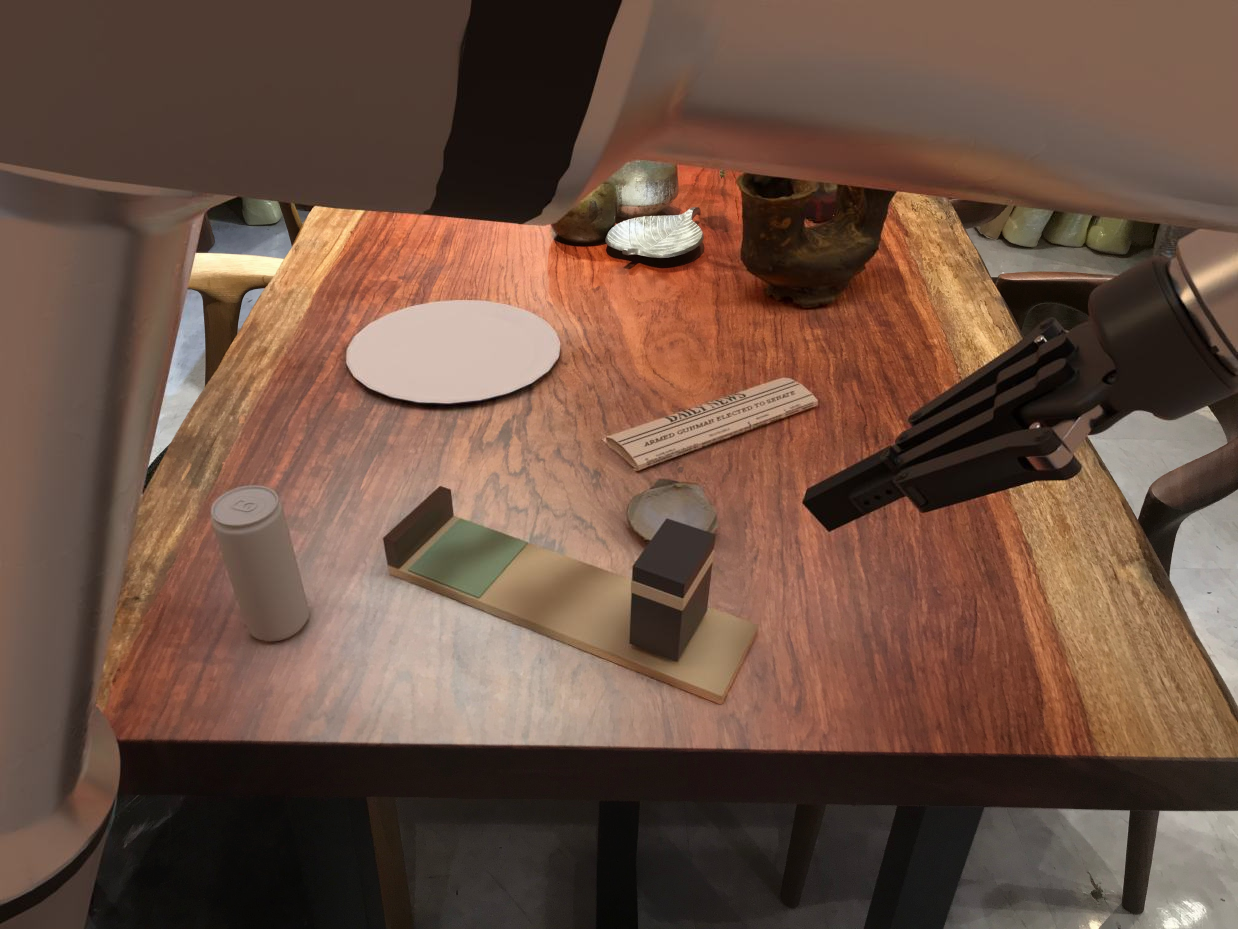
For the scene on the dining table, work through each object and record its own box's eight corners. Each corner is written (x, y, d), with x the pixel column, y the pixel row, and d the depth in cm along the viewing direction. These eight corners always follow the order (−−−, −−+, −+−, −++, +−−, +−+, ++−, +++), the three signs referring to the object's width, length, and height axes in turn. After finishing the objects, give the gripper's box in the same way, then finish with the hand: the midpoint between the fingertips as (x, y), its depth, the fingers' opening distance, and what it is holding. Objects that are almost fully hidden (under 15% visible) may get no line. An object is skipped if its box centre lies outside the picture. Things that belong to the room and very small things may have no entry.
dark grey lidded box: (708, 610, 71) (716, 533, 66) (677, 663, 66) (684, 584, 62) (660, 593, 72) (666, 517, 67) (627, 644, 68) (631, 565, 63)
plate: (495, 291, 120) (495, 282, 119) (602, 369, 104) (602, 359, 103) (314, 339, 108) (312, 330, 107) (402, 436, 92) (401, 426, 91)
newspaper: (637, 475, 88) (638, 460, 87) (600, 440, 93) (600, 425, 91) (816, 410, 98) (819, 396, 97) (774, 381, 103) (776, 367, 102)
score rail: (757, 633, 71) (763, 596, 69) (721, 705, 65) (726, 668, 63) (444, 520, 81) (440, 485, 79) (388, 573, 75) (382, 537, 73)
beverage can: (286, 652, 68) (251, 532, 61) (233, 636, 69) (193, 517, 62) (322, 609, 72) (294, 492, 65) (271, 595, 73) (238, 478, 66)
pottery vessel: (852, 262, 131) (879, 121, 119) (904, 291, 123) (937, 144, 111) (708, 293, 121) (722, 144, 109) (755, 327, 113) (775, 170, 102)
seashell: (624, 558, 80) (709, 563, 77) (615, 534, 78) (702, 539, 75) (649, 493, 86) (730, 496, 83) (642, 470, 84) (724, 472, 81)
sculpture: (856, 216, 146) (873, 121, 137) (818, 225, 142) (833, 128, 133) (817, 197, 152) (831, 106, 144) (779, 205, 149) (791, 112, 140)
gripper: (1275, 450, 38) (835, 621, 53) (1233, 312, 47) (870, 490, 63) (1177, 320, 36) (753, 534, 52) (1155, 204, 46) (802, 414, 61)
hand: (818, 510), depth 57 cm, fingers closed
